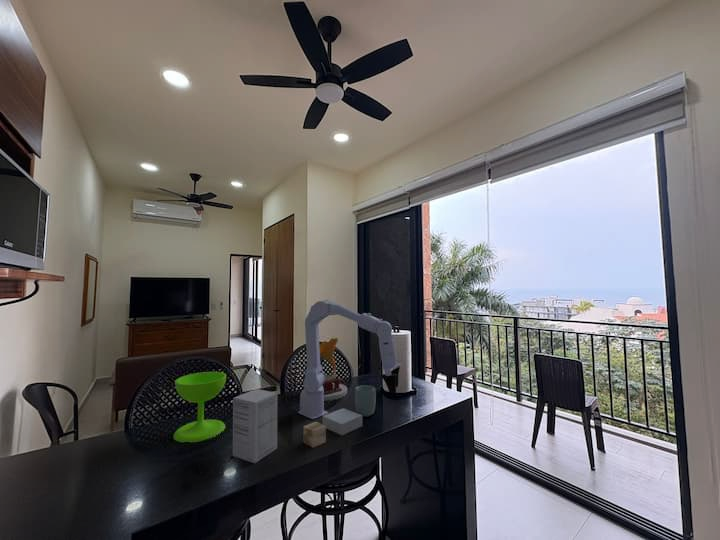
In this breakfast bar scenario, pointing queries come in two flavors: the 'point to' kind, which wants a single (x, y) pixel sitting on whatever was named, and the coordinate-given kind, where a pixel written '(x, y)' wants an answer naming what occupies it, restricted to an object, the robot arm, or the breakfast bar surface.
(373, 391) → the cup
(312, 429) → the maple cube
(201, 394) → the wineglass
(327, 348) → the gramophone
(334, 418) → the grey base block
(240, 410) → the supplement box
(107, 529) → the breakfast bar surface
